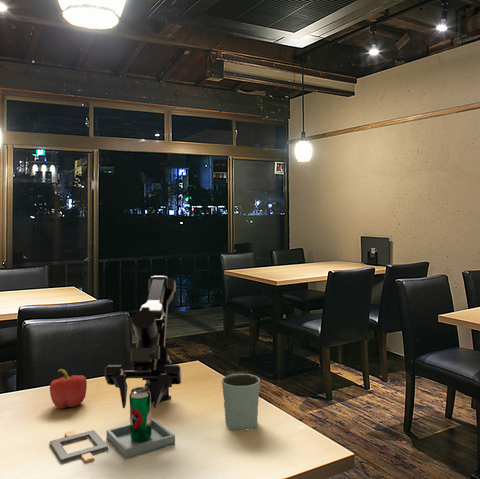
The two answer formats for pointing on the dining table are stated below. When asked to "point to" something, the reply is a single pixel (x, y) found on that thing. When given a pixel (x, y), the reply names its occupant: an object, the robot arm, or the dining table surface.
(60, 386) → the vegetable
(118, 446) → the parts tray
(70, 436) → the grey rectangular frame
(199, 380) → the dining table surface
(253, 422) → the grey-green cup
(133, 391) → the soda can
